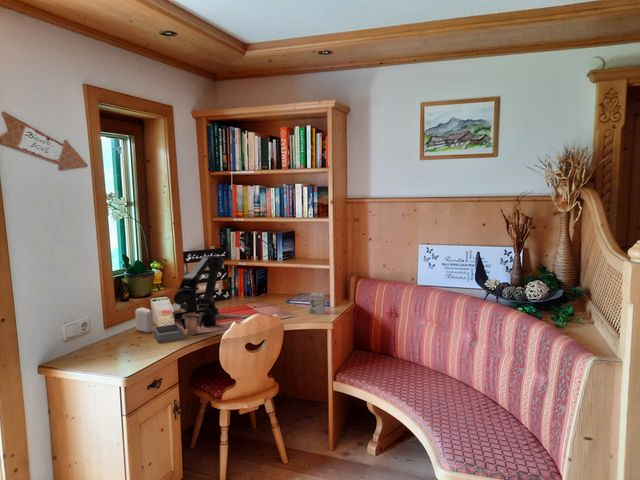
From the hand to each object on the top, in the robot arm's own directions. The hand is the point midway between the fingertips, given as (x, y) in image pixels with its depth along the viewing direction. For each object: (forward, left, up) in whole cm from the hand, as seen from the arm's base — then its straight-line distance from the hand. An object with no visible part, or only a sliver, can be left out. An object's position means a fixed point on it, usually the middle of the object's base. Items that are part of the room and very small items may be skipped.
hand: (192, 328), depth 244 cm
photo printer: (+21, -18, -3) cm, 28 cm away
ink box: (-75, +1, -3) cm, 75 cm away
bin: (+12, -1, -2) cm, 12 cm away
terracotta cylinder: (0, 0, -3) cm, 3 cm away
